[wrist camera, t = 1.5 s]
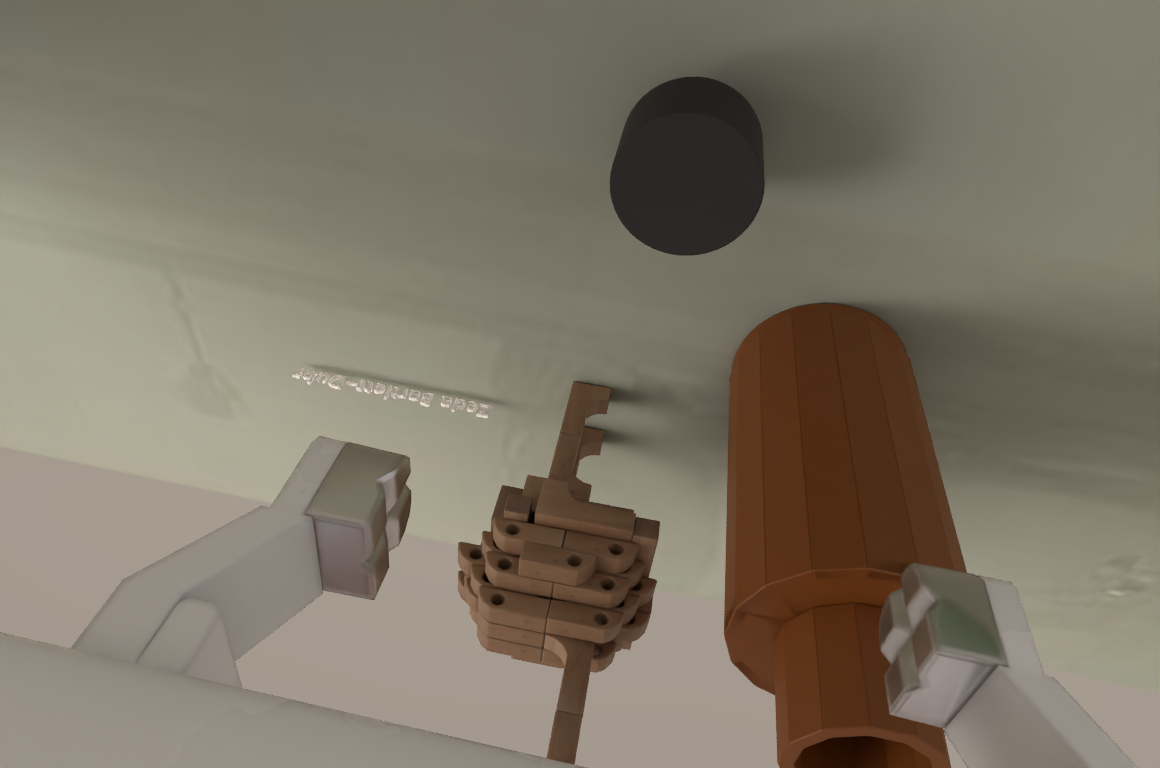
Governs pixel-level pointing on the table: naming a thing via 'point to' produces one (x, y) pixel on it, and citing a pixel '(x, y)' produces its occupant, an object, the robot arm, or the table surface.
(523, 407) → the table surface
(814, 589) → the bottle
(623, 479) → the table surface
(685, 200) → the bung
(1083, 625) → the table surface
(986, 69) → the table surface
